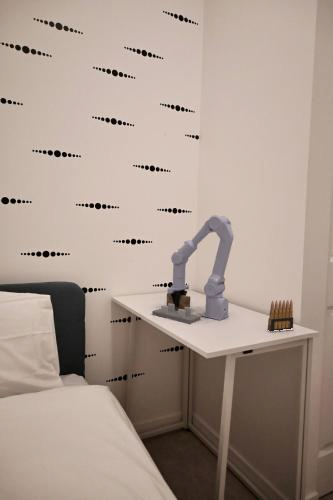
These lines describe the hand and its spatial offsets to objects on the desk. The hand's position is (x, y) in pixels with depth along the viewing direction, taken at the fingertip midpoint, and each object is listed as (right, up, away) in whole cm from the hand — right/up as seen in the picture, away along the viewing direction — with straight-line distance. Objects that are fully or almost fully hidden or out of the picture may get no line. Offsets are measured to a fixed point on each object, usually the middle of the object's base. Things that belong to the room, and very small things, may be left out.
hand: (178, 306), depth 149 cm
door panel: (0, -2, 0) cm, 2 cm away
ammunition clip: (+39, -5, -27) cm, 47 cm away
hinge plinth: (-1, -2, -13) cm, 13 cm away
